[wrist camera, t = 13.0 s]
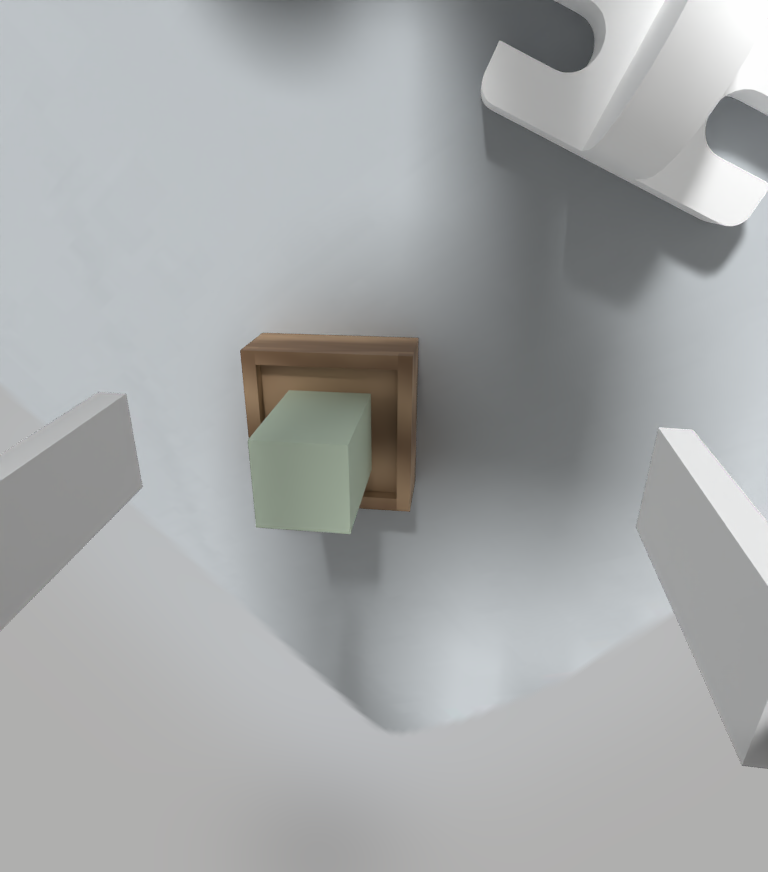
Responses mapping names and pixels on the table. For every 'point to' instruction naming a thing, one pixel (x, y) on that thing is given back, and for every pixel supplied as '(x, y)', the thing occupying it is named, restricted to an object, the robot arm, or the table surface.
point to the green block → (312, 461)
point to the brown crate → (350, 373)
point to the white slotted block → (649, 96)
